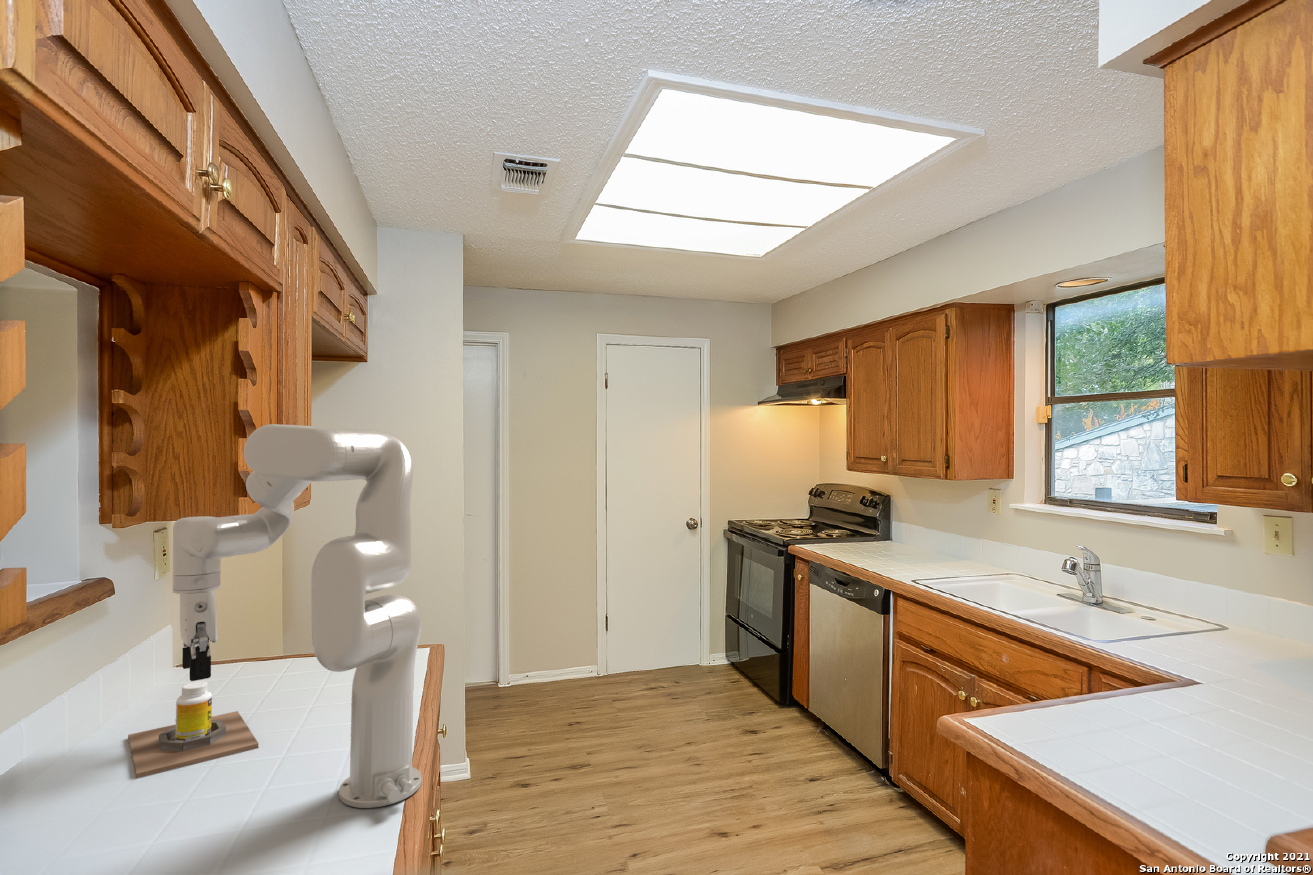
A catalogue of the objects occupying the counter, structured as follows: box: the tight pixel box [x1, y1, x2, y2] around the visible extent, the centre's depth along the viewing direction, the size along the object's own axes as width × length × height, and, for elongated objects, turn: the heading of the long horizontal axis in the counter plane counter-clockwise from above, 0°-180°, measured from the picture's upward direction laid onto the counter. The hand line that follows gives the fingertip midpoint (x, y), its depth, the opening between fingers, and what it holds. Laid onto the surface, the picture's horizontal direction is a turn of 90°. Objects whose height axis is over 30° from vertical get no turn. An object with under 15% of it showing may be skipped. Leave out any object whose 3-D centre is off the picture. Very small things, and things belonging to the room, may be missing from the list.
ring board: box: [127, 710, 259, 779], centre depth 126 cm, size 20×18×2 cm
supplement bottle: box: [175, 680, 213, 741], centre depth 126 cm, size 6×6×10 cm
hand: (196, 672), depth 126 cm, fingers open, 9 cm apart
